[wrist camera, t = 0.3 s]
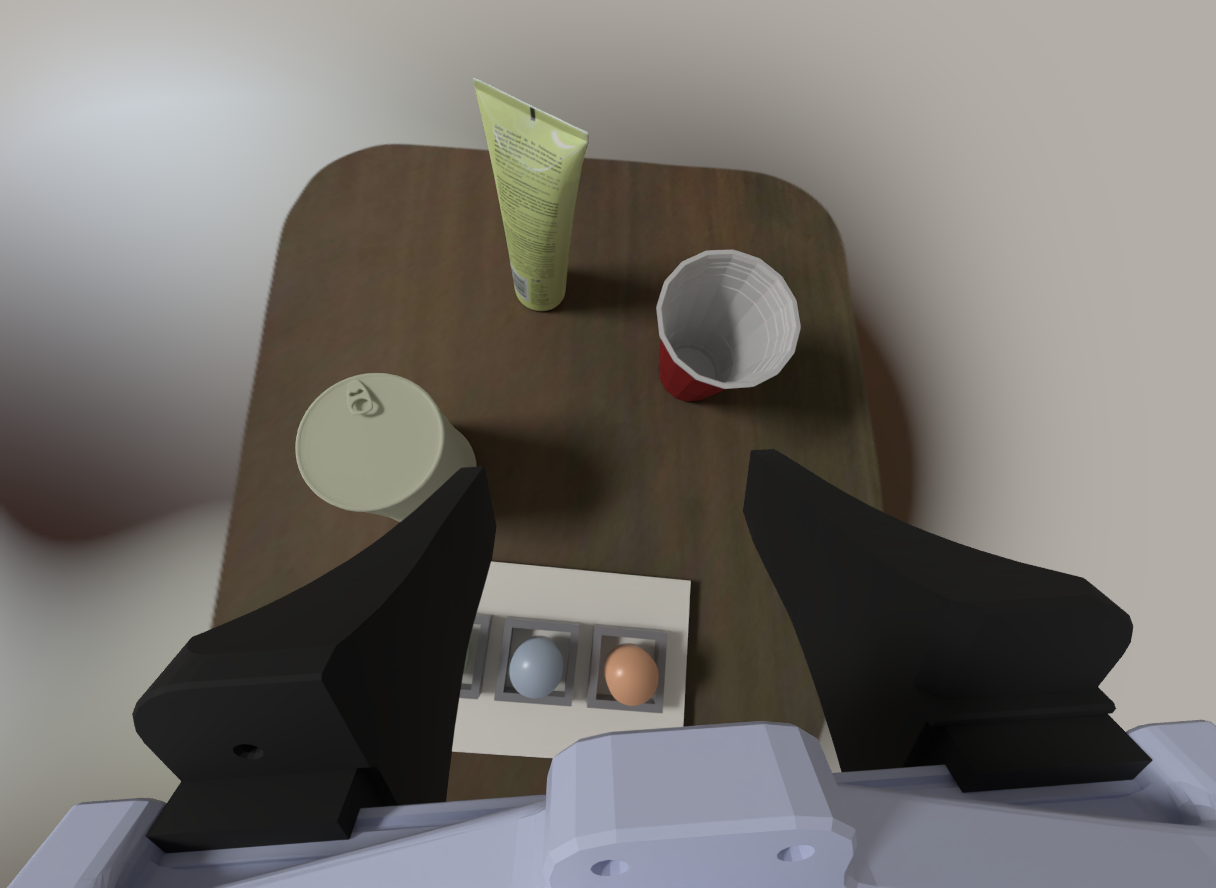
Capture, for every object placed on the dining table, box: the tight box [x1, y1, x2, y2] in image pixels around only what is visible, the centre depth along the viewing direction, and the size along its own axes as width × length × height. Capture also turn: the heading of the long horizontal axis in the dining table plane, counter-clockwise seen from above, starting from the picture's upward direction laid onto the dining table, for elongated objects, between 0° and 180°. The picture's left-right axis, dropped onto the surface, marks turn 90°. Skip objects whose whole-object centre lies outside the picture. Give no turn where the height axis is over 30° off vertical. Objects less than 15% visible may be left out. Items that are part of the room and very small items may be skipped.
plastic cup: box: [656, 250, 801, 402], centre depth 40 cm, size 11×11×12 cm
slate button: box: [509, 635, 563, 698], centre depth 35 cm, size 4×4×2 cm
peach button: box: [604, 643, 659, 706], centre depth 35 cm, size 4×4×2 cm
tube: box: [473, 78, 589, 311], centre depth 37 cm, size 6×5×20 cm
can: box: [296, 373, 477, 522], centre depth 35 cm, size 9×9×12 cm
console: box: [452, 561, 691, 758], centre depth 37 cm, size 14×24×3 cm, turn 85°
